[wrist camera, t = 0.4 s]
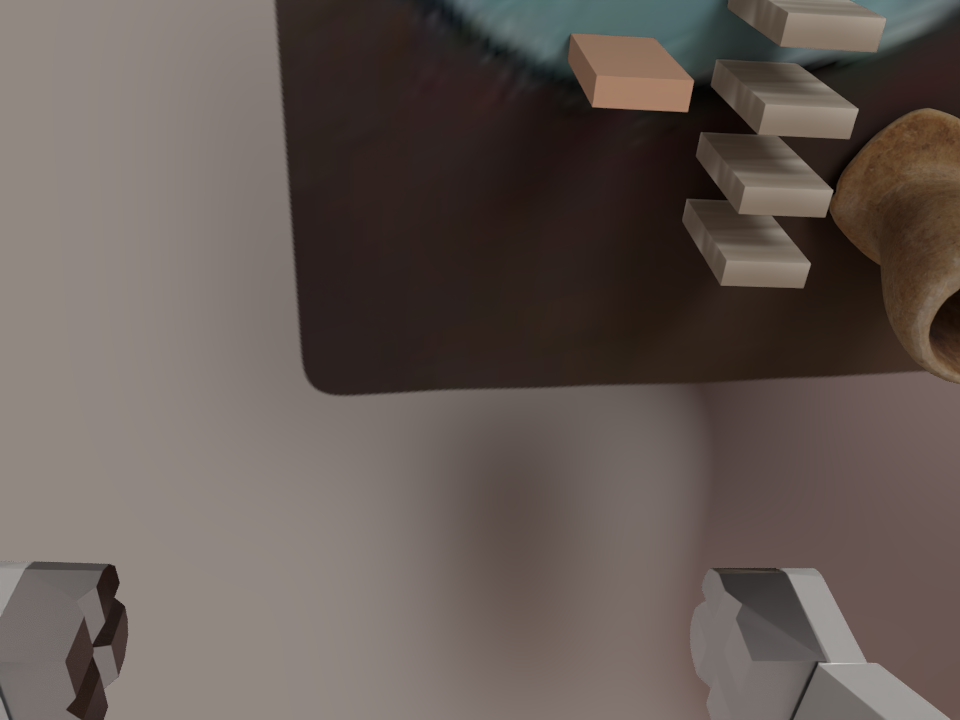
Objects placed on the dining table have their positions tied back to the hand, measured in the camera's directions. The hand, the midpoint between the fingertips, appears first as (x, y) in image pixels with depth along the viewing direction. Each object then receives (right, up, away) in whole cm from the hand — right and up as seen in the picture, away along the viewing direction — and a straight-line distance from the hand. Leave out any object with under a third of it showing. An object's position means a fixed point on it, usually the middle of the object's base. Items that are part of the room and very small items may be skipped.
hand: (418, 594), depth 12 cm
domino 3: (+18, +21, +41) cm, 49 cm away
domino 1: (+9, +22, +39) cm, 46 cm away
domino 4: (+17, +17, +43) cm, 49 cm away
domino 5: (+17, +13, +46) cm, 50 cm away
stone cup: (+31, +13, +47) cm, 57 cm away
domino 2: (+18, +24, +38) cm, 49 cm away
